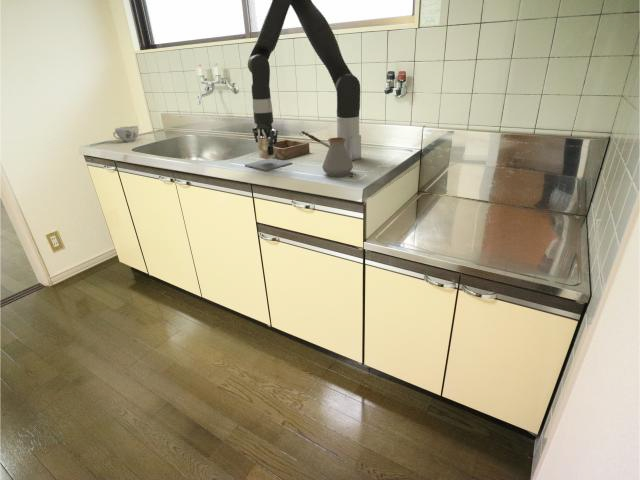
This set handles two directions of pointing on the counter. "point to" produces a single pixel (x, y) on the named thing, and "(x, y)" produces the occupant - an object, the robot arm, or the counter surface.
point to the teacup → (127, 133)
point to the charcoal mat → (268, 164)
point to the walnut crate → (290, 149)
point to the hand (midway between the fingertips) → (267, 154)
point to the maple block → (264, 148)
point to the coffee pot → (335, 157)
